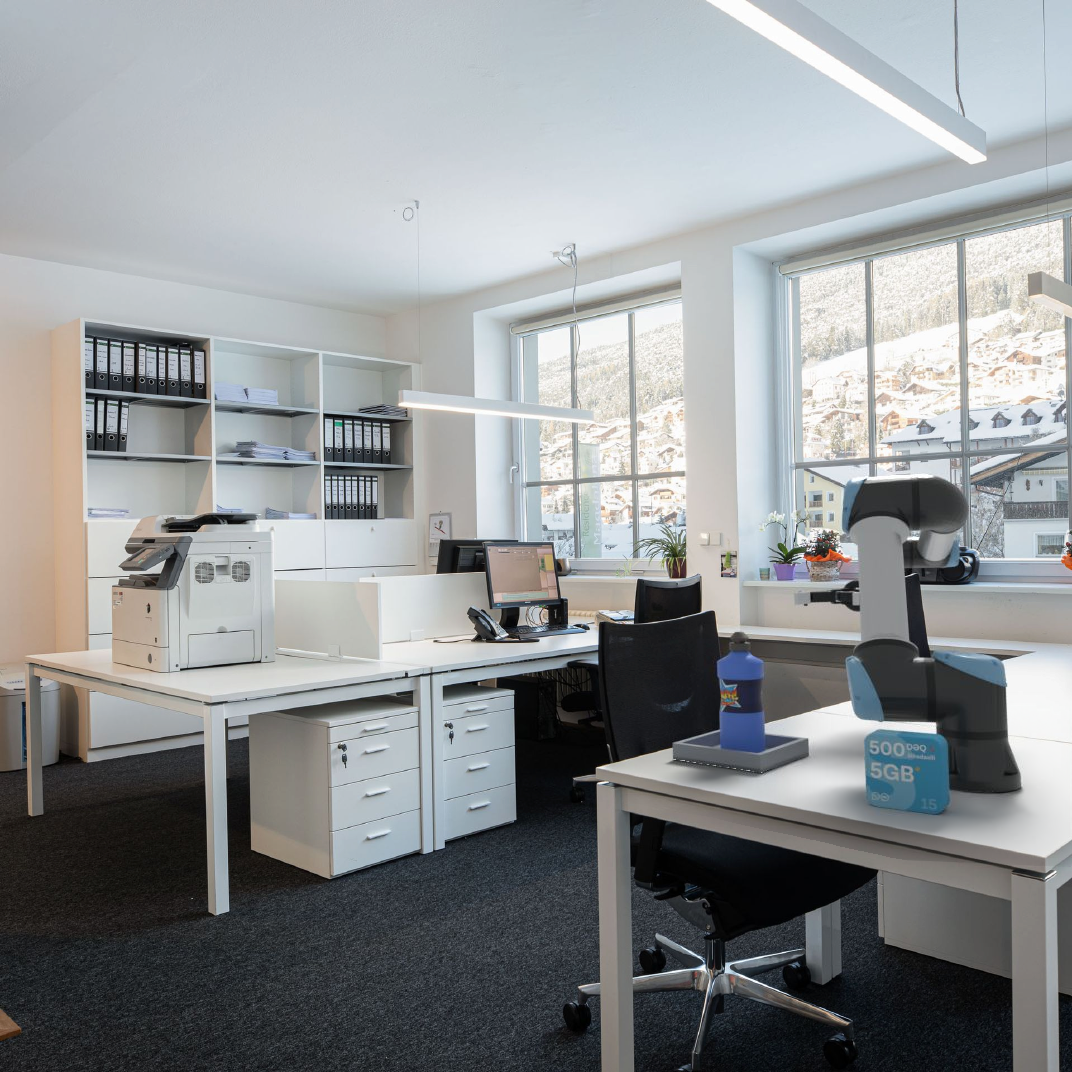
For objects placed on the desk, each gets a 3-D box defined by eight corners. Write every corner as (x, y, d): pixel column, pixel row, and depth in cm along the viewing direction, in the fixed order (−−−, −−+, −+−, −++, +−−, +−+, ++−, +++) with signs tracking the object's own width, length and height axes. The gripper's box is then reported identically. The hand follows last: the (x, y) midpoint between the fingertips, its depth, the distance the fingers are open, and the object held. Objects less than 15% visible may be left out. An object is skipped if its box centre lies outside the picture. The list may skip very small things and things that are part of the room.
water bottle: (741, 760, 184) (737, 634, 185) (710, 752, 192) (706, 632, 193) (776, 754, 188) (772, 631, 189) (744, 747, 197) (741, 629, 197)
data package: (866, 805, 152) (863, 732, 152) (874, 799, 156) (871, 728, 156) (943, 816, 145) (940, 739, 145) (950, 809, 149) (947, 734, 149)
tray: (760, 773, 176) (760, 755, 176) (673, 760, 190) (672, 743, 190) (808, 755, 191) (808, 738, 191) (724, 744, 204) (723, 728, 205)
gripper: (916, 611, 213) (880, 616, 197) (814, 610, 229) (773, 614, 213) (915, 579, 213) (879, 581, 197) (813, 580, 230) (772, 582, 214)
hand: (824, 598), depth 205 cm, fingers open, 13 cm apart
